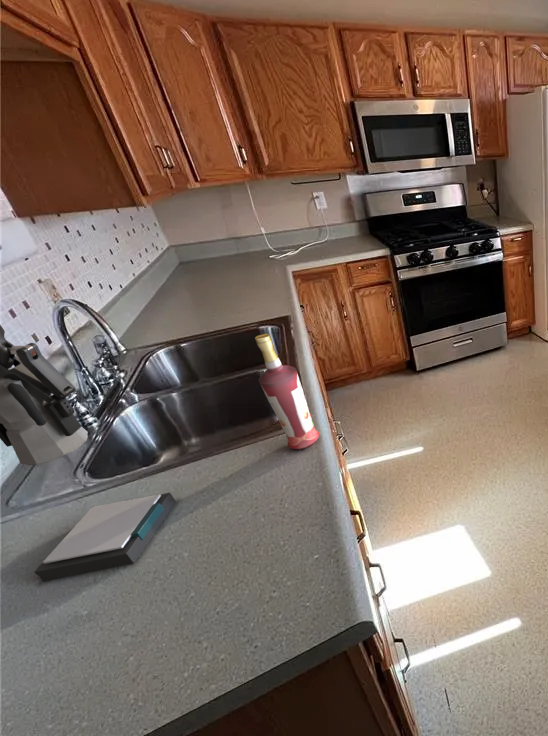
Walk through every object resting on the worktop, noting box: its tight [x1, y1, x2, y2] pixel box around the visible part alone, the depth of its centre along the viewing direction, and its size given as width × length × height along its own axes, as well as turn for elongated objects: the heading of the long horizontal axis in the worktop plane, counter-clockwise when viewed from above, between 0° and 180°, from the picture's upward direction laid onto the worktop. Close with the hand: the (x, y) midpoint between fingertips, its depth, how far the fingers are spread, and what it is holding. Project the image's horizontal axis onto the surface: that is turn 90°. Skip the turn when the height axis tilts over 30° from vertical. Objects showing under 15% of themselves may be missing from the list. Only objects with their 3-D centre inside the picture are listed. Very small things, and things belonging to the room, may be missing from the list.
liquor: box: [254, 333, 320, 450], centre depth 91 cm, size 7×7×28 cm
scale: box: [33, 492, 177, 582], centre depth 76 cm, size 14×14×3 cm
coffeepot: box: [0, 368, 89, 466], centre depth 71 cm, size 15×9×18 cm, turn 60°
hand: (45, 436), depth 74 cm, fingers closed on coffeepot, 8 cm apart
